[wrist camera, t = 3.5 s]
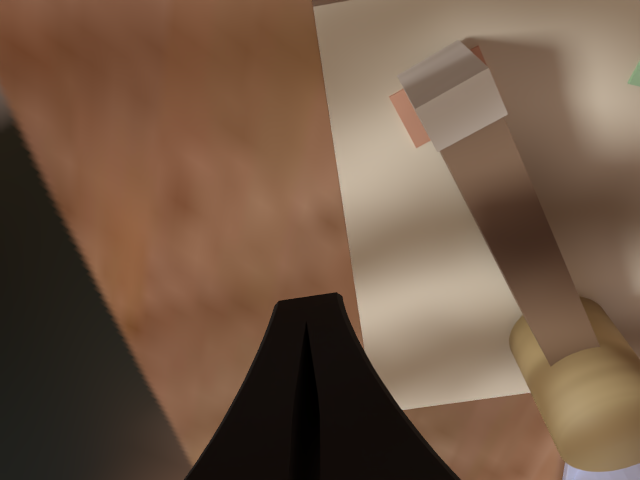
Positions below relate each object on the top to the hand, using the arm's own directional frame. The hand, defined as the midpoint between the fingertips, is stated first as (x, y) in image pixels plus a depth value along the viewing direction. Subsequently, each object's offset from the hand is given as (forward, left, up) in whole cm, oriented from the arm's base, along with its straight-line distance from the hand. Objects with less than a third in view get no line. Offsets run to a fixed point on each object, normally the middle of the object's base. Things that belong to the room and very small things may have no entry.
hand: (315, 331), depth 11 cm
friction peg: (-4, -7, -8) cm, 11 cm away
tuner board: (-4, -9, -9) cm, 13 cm away
